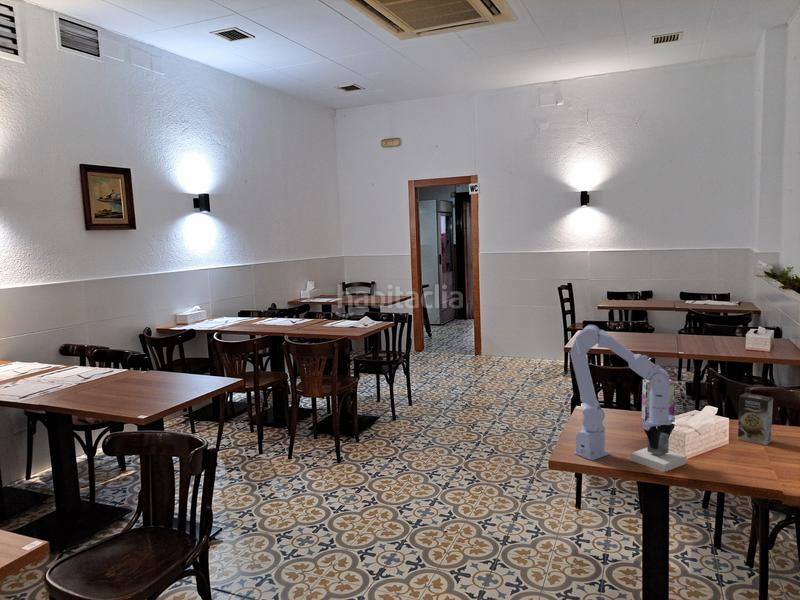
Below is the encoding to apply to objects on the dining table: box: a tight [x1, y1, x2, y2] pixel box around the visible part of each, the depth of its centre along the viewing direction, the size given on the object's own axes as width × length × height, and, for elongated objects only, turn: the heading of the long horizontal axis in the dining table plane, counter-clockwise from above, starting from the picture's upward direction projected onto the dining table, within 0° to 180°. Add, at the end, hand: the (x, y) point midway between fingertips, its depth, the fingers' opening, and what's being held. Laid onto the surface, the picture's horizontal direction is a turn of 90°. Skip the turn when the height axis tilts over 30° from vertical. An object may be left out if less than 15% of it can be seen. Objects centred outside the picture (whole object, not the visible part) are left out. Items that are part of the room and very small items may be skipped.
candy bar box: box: [641, 379, 676, 422], centre depth 224 cm, size 11×5×16 cm, turn 84°
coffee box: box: [737, 392, 774, 446], centre depth 200 cm, size 9×6×16 cm
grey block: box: [647, 433, 670, 455], centre depth 184 cm, size 4×4×6 cm
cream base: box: [630, 446, 688, 473], centre depth 184 cm, size 12×12×2 cm
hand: (658, 446), depth 184 cm, fingers closed on grey block, 4 cm apart
